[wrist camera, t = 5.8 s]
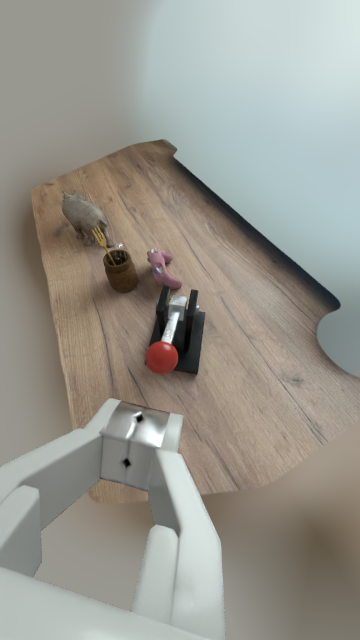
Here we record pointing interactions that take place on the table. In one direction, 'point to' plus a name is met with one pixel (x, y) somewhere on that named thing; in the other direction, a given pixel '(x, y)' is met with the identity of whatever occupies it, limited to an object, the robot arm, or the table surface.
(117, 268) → the utensil holder
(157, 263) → the pink toy car
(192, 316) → the bracket
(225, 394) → the table surface
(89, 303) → the table surface
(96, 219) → the rhinoceros figurine
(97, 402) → the table surface
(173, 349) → the lever
